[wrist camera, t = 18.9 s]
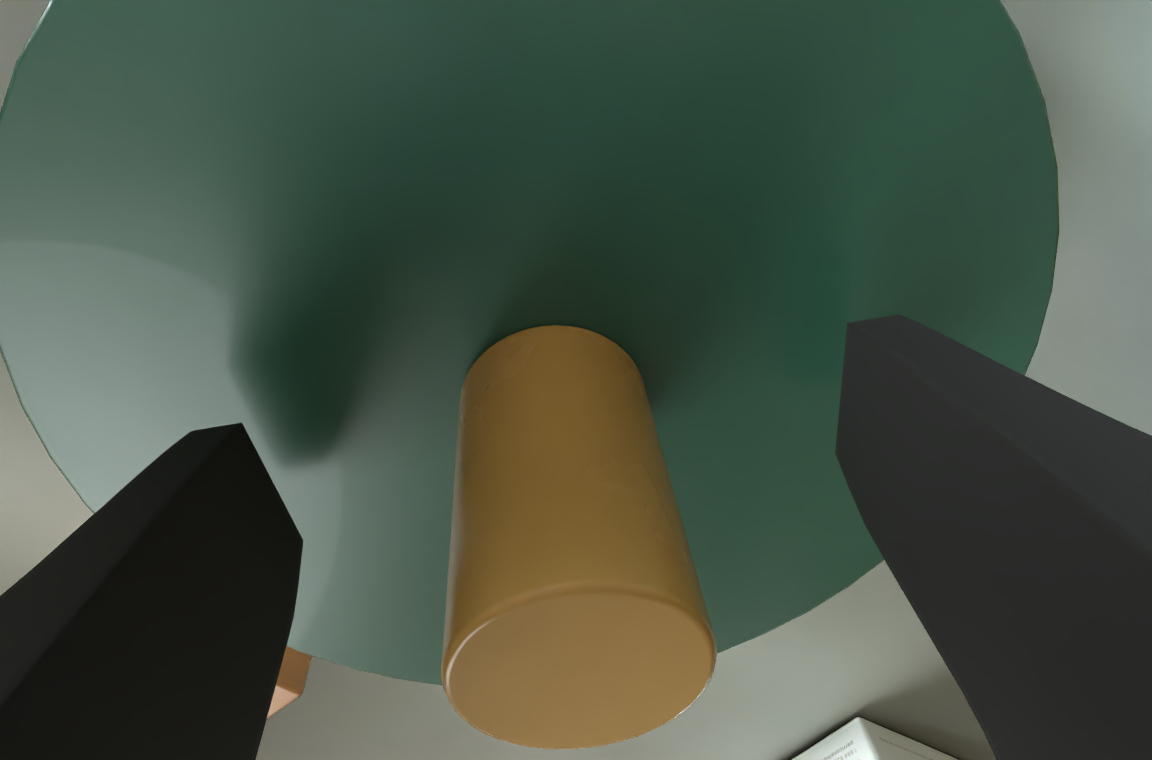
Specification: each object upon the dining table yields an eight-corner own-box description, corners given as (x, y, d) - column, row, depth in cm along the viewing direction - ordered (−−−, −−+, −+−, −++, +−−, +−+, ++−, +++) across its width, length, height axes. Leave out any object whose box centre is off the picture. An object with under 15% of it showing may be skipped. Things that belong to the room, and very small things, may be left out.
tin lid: (63, 586, 12) (-157, 956, 8) (-35, -540, 5) (-1702, -1804, 1) (753, 671, 16) (847, 968, 11) (1234, 28, 9) (1909, 180, 5)
